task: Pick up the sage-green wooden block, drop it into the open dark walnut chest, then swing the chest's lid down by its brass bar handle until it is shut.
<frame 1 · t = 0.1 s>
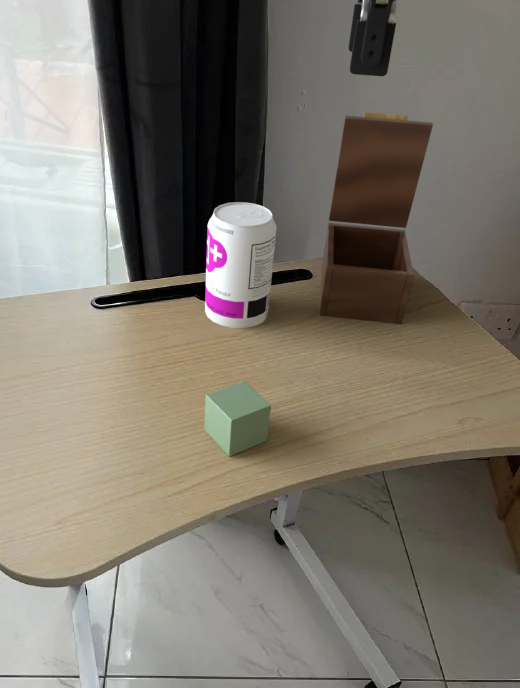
hand: (365, 62, 61), 33 cm above the table, tool pointing down, fingers open, 9 cm apart
lid: (377, 165, 88), point 17 cm above the table, hinge at 80.0°
block: (235, 435, 69), on the table
chest: (356, 305, 92), on the table
supplement can: (235, 324, 87), on the table
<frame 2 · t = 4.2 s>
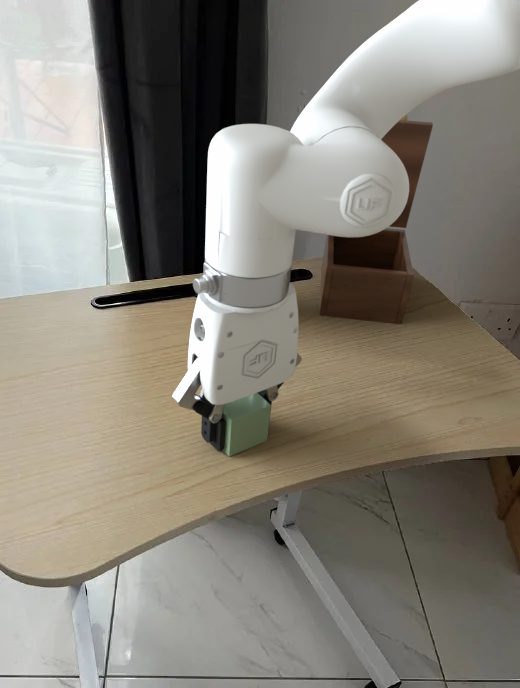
hand: (235, 432, 69), 0 cm above the table, tool pointing down, fingers closed on block, 4 cm apart
block: (235, 435, 69), on the table, touching gripper
everything else where it was.
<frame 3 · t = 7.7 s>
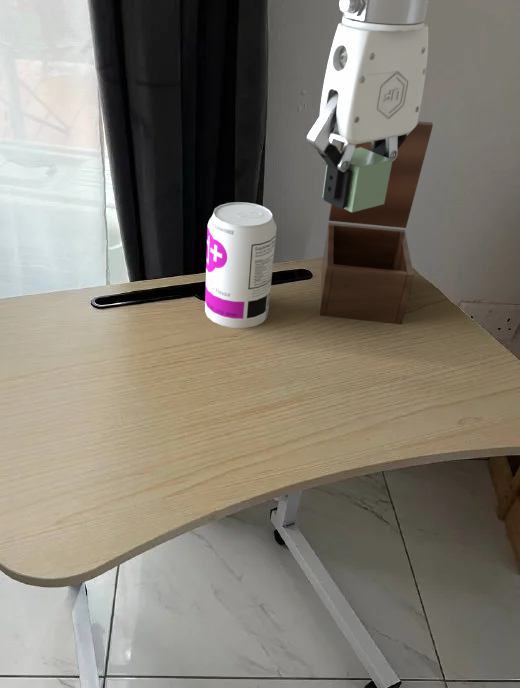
hand: (353, 197, 72), 19 cm above the table, tool pointing down, fingers closed on block, 4 cm apart
block: (352, 201, 72), point 19 cm above the table, touching gripper
everything else where it was.
when the fingers open (9 cm above the table, at t = 11.7 s): block stays where it is, resting on chest.
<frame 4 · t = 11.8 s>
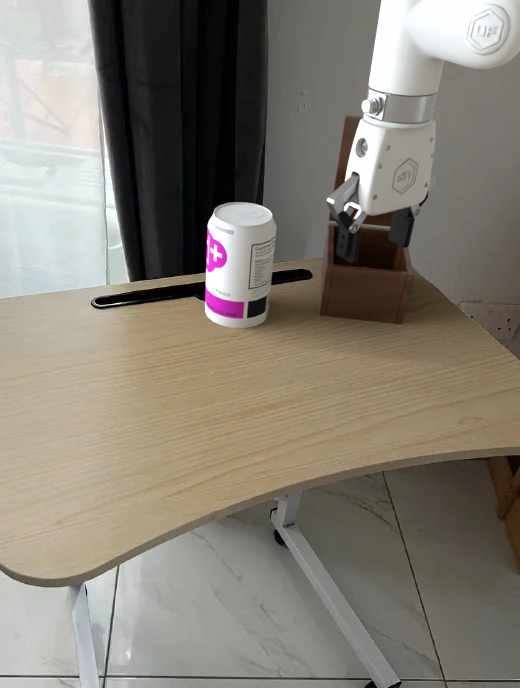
hand: (372, 250, 84), 9 cm above the table, tool pointing down, fingers open, 8 cm apart
block: (358, 309, 89), point 1 cm above the table, touching chest
everything else where it was.
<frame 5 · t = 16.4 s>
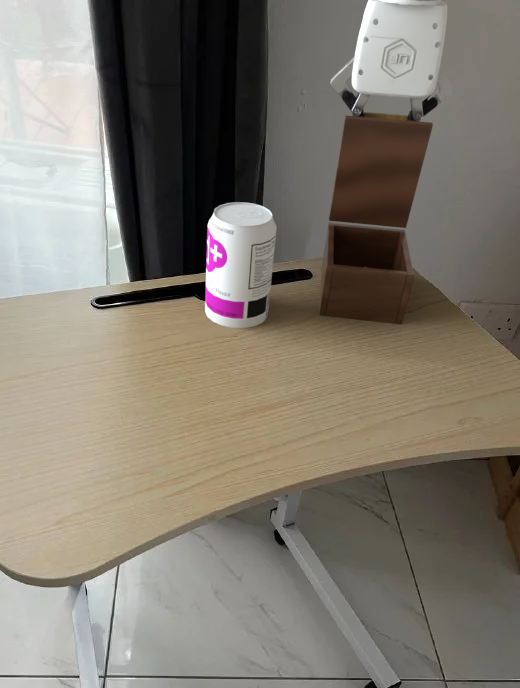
hand: (380, 146, 87), 19 cm above the table, tool pointing down, fingers closed on lid, 5 cm apart
lid: (377, 165, 88), point 17 cm above the table, hinge at 80.0°, touching gripper
everything else where it was.
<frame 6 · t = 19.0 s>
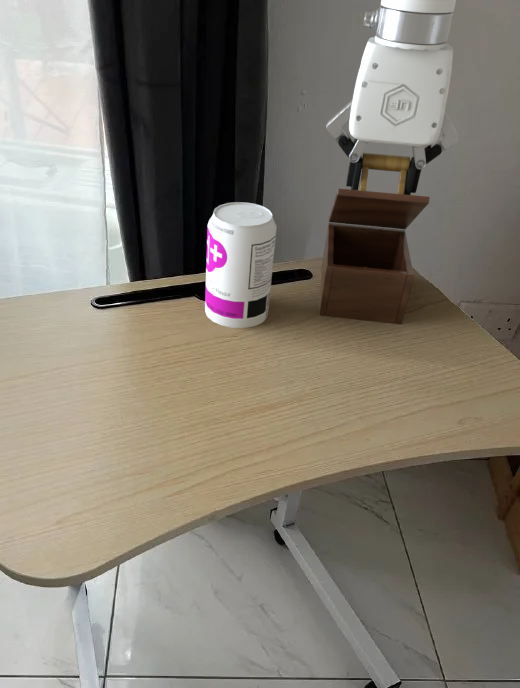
hand: (379, 193, 81), 16 cm above the table, tool pointing down, fingers closed on lid, 5 cm apart
lid: (377, 190, 84), point 15 cm above the table, hinge at 35.0°, touching gripper
everything else where it was.
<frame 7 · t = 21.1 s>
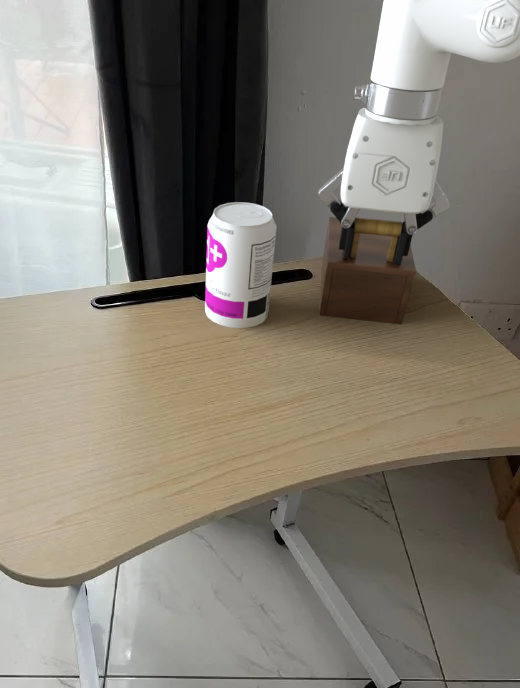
hand: (371, 256, 81), 10 cm above the table, tool pointing down, fingers closed on lid, 5 cm apart
lid: (372, 226, 84), point 12 cm above the table, hinge at 0.5°, touching gripper
everything else where it was.
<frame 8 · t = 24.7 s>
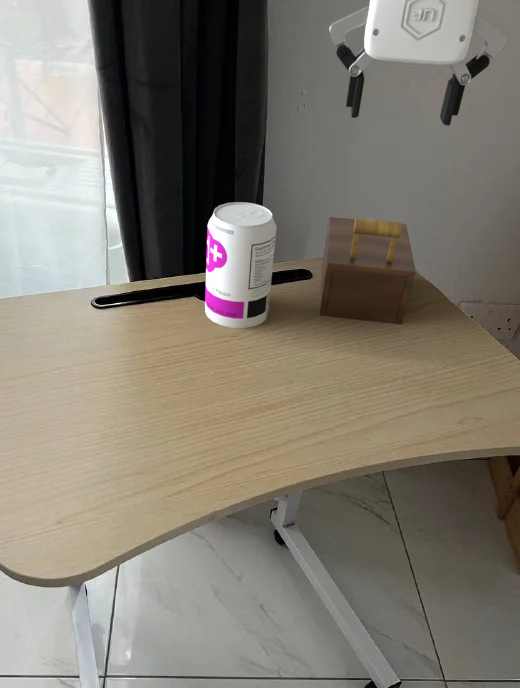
hand: (399, 118, 71), 26 cm above the table, tool pointing down, fingers open, 9 cm apart
lid: (372, 226, 84), point 12 cm above the table, hinge at 0.2°
everything else where it was.
at the end: block inside the target area in the chest (2.5 cm from its centre), point 0.8 cm above the chest's base; lid at +0° (first picture: +80°) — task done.
